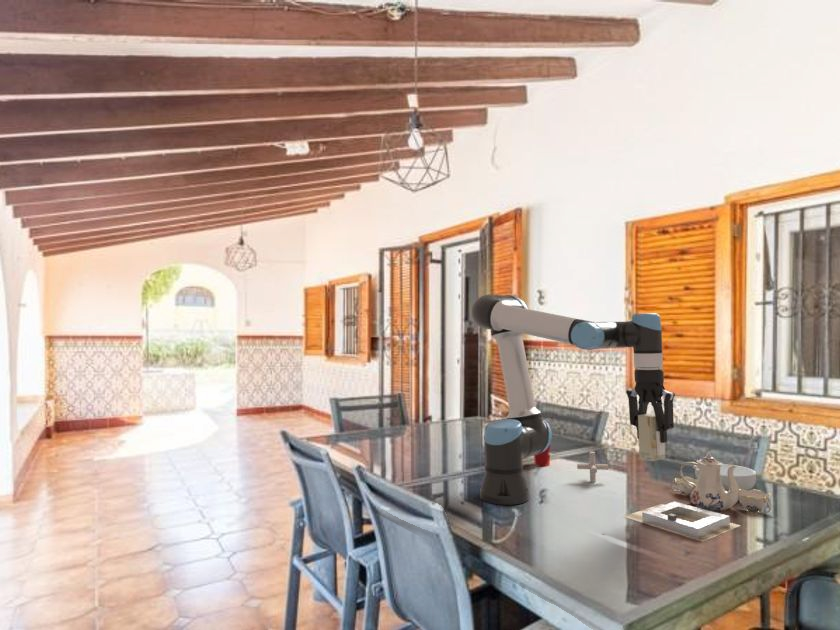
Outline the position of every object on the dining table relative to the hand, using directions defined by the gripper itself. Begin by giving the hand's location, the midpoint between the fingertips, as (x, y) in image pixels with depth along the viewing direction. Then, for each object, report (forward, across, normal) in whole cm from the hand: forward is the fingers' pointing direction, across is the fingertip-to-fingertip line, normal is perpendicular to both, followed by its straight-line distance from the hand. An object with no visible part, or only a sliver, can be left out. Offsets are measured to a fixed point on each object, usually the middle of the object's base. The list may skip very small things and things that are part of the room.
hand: (652, 452), depth 152 cm
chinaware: (+18, -6, -21) cm, 28 cm away
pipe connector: (+17, +32, -15) cm, 39 cm away
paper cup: (+17, +59, -19) cm, 65 cm away
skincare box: (+2, 0, 0) cm, 2 cm away
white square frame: (+17, -9, +2) cm, 19 cm away
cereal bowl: (+18, 0, -38) cm, 42 cm away
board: (+18, -7, +1) cm, 19 cm away
